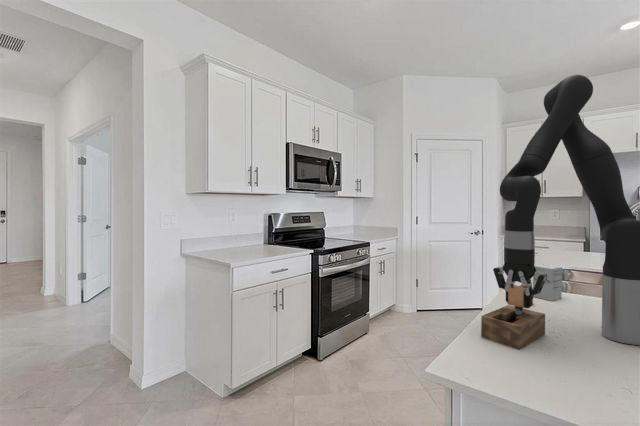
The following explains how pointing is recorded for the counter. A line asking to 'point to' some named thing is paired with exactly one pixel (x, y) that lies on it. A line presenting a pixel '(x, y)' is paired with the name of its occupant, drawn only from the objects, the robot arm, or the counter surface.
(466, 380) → the counter surface
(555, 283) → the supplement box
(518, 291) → the brown square-topped part
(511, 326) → the keyhole block
